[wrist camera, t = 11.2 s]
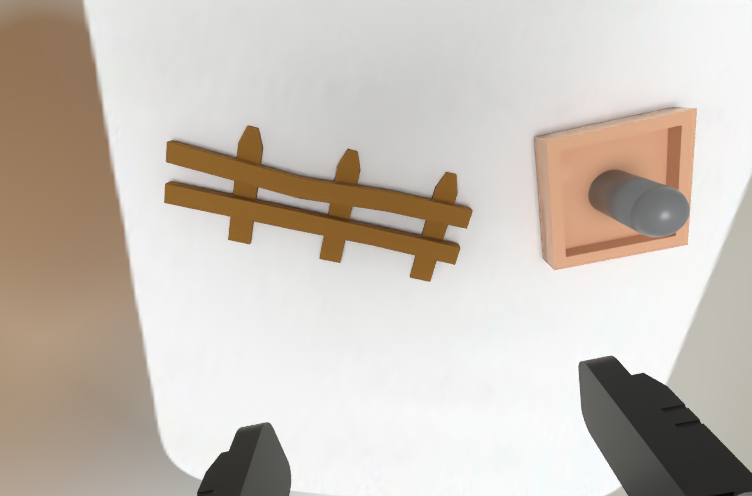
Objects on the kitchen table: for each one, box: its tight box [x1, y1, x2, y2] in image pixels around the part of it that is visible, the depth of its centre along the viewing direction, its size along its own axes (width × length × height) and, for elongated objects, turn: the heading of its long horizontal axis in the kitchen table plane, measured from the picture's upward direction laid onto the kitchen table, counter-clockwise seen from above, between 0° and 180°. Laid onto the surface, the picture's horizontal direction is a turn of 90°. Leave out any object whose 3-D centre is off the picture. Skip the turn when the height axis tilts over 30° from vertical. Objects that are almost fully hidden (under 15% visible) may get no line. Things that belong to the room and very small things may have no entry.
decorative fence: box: [164, 126, 472, 282], centre depth 35 cm, size 25×2×10 cm
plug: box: [588, 170, 690, 237], centre depth 30 cm, size 4×4×8 cm
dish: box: [534, 107, 697, 270], centre depth 34 cm, size 11×11×2 cm
